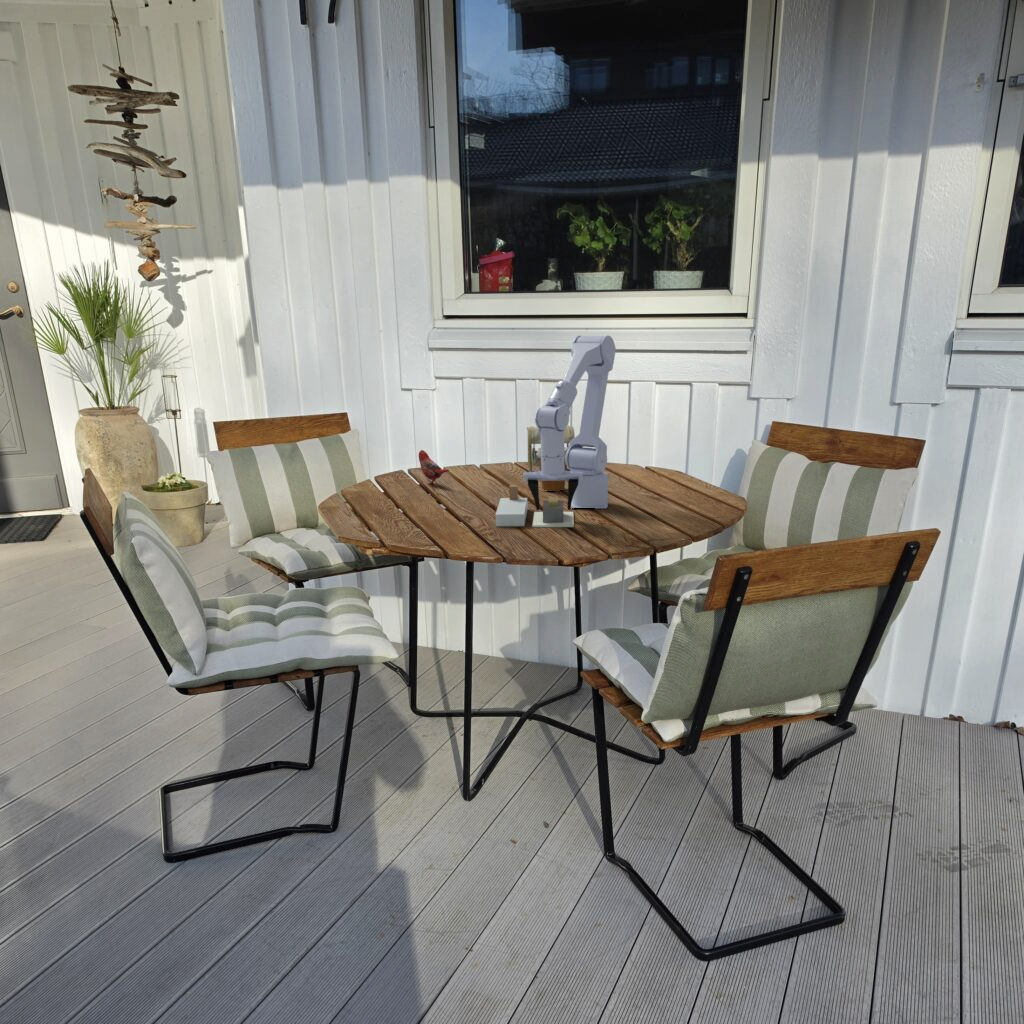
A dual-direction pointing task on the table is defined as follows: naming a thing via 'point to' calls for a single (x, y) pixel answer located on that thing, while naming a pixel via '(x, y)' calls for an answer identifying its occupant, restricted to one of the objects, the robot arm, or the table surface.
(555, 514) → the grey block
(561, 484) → the disposable coffee cup
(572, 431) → the swing bench
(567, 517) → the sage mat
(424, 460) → the decorative bird figurine
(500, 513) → the white rectangular block
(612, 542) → the table surface
